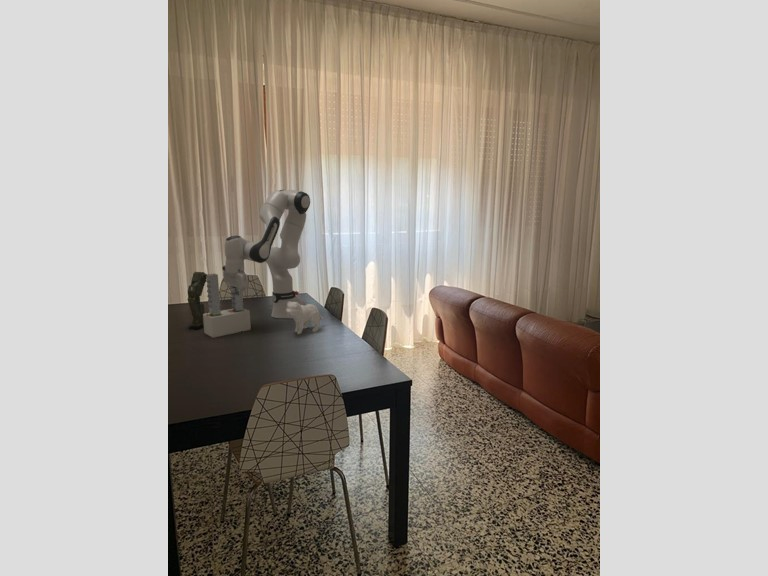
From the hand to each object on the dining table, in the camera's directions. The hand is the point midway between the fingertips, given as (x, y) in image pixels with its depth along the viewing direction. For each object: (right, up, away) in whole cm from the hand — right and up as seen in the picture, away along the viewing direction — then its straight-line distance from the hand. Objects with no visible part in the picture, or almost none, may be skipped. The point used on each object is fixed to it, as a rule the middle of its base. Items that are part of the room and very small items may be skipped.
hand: (236, 295), depth 226 cm
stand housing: (-4, -19, 0) cm, 19 cm away
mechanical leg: (-22, -17, +8) cm, 29 cm away
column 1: (-9, -12, -6) cm, 16 cm away
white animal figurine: (+35, -19, +2) cm, 40 cm away
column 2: (0, -18, +4) cm, 18 cm away
